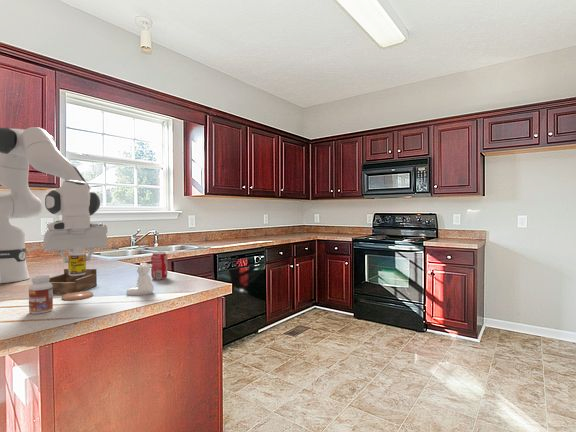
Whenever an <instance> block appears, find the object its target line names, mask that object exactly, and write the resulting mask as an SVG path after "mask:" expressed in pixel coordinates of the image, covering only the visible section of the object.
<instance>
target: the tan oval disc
mask: <svg viewBox="0 0 576 432" xmlns="http://www.w3.org/2000/svg"><path fill="white" fill-rule="evenodd" d="M93 296H94V292H93V291H87V290H86V291H85V290H83V291H80V292H73V293H64V294H62V295H61V300H63V301H79V300H85V299H89V298H91V297H93Z"/></svg>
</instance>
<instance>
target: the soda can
mask: <svg viewBox="0 0 576 432" xmlns="http://www.w3.org/2000/svg"><path fill="white" fill-rule="evenodd" d="M150 264H152V267H151V268H150V275H151V276H150V277H151V279H153V280H154V281H160V279H162V280H166V279H167V277H168V256H167V253H166V252H165V251H164V252H163V251H158V252H157V251H156V252H152V255H151V257H150Z"/></svg>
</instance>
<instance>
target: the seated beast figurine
mask: <svg viewBox="0 0 576 432" xmlns="http://www.w3.org/2000/svg"><path fill="white" fill-rule="evenodd" d="M151 267H152V264H151V263H150V264H149V263H147V262H141V263H140V264H139V266H137V271H136V272H137V274H138V278H137V283H136V287H130V288H129V289H127V290H126V291H125V292H126V295H127V296H147V295H150V294H152V293H153V292H154V289H155V285H154V284H153V282H152V277H151V276H150V275H149V272H150V271H151Z"/></svg>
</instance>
